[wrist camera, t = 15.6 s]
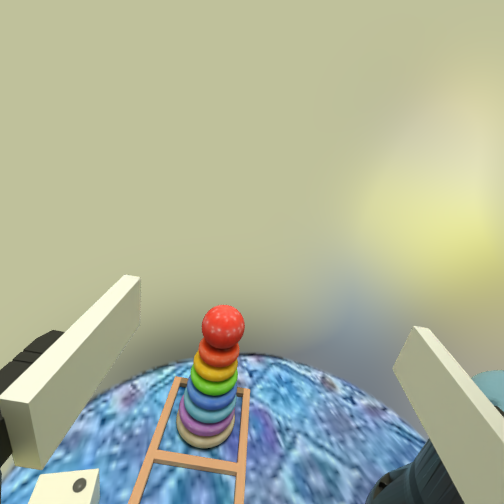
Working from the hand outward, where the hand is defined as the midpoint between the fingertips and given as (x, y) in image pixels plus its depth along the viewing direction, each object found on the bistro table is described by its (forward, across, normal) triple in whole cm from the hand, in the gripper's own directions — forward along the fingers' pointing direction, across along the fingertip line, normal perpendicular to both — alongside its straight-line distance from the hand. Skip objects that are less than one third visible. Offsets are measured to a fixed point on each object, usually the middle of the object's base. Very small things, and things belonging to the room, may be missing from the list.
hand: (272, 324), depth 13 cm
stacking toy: (+15, -3, -30) cm, 34 cm away
